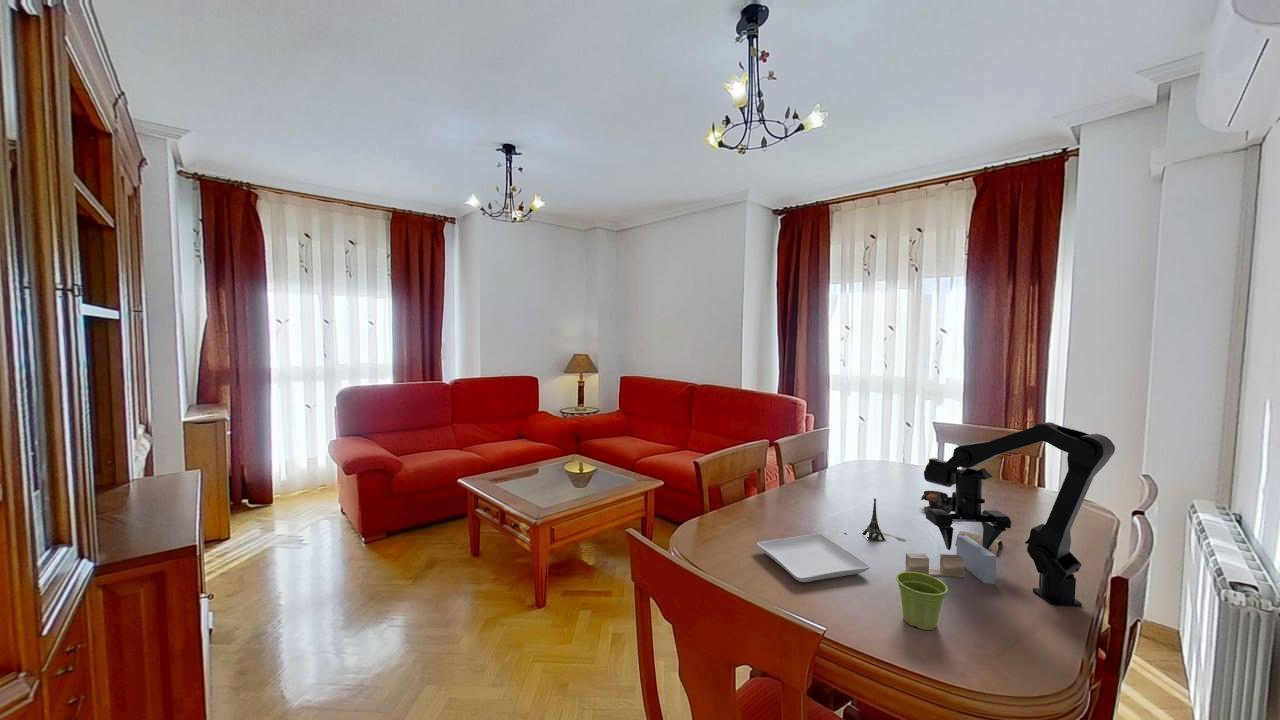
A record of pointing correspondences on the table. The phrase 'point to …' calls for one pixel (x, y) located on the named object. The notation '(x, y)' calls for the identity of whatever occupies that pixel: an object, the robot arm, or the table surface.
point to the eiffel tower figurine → (877, 529)
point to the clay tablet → (981, 541)
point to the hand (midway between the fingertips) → (966, 549)
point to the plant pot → (921, 599)
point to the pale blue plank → (977, 559)
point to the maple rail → (948, 567)
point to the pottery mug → (933, 501)
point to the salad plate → (812, 557)
